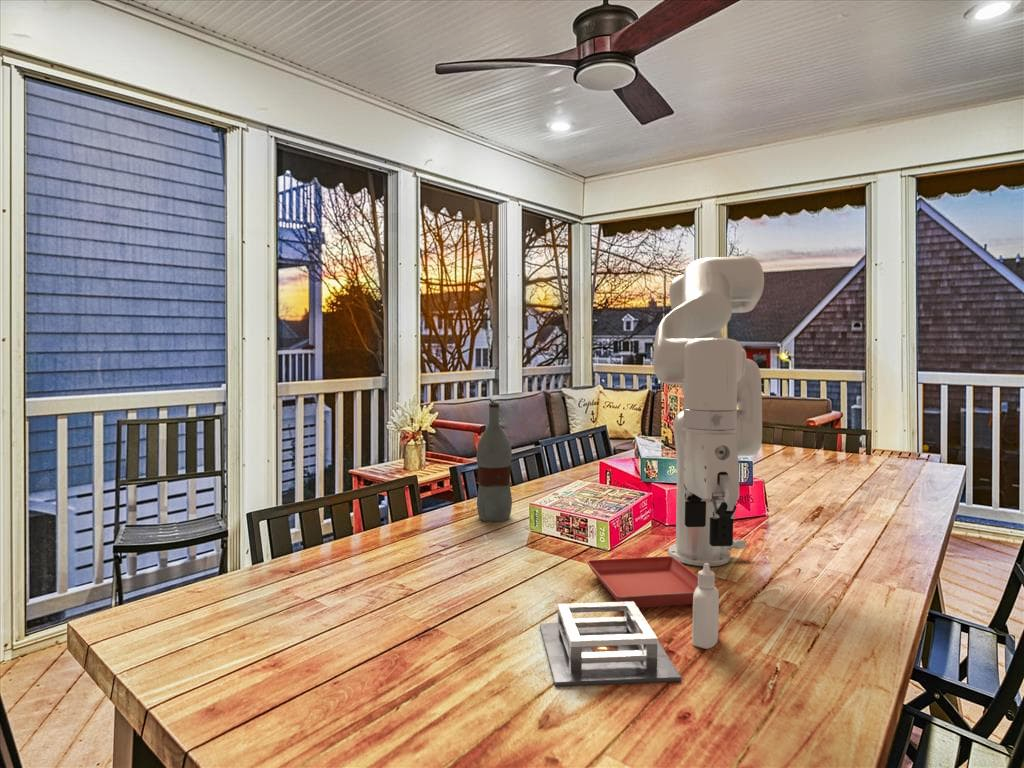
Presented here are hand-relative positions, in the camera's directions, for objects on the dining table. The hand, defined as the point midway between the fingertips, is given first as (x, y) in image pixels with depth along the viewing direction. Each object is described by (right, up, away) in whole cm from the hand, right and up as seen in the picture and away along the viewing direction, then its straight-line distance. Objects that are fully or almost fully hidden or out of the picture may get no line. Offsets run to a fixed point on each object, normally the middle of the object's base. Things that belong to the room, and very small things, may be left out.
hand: (707, 535), depth 91 cm
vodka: (-34, -13, +68) cm, 77 cm away
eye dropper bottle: (0, -17, +2) cm, 17 cm away
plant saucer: (-4, -16, +21) cm, 27 cm away
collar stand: (-16, -17, -2) cm, 23 cm away
